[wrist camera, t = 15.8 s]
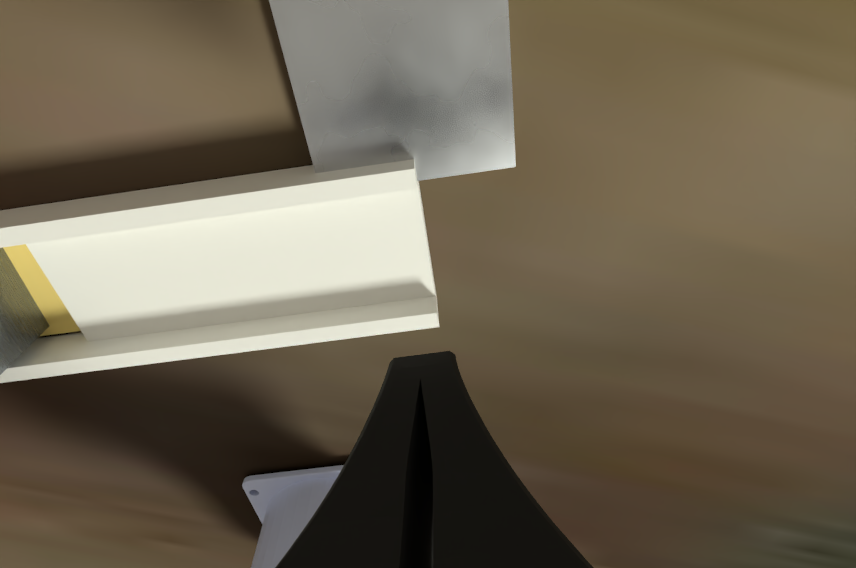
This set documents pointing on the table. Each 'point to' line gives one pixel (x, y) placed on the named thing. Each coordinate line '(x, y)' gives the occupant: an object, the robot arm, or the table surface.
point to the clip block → (16, 314)
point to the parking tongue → (401, 82)
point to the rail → (222, 267)
